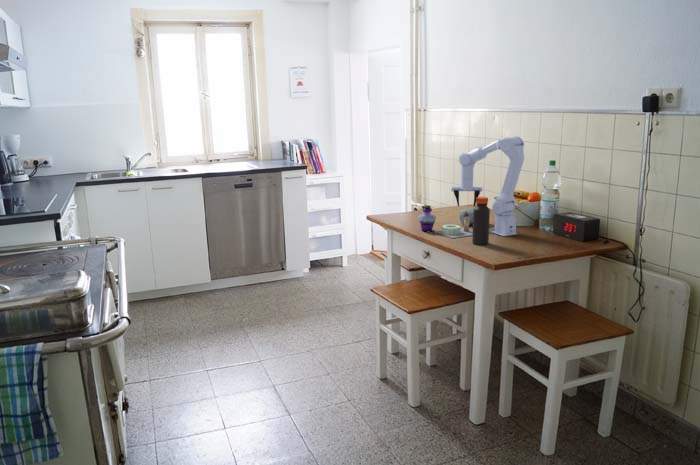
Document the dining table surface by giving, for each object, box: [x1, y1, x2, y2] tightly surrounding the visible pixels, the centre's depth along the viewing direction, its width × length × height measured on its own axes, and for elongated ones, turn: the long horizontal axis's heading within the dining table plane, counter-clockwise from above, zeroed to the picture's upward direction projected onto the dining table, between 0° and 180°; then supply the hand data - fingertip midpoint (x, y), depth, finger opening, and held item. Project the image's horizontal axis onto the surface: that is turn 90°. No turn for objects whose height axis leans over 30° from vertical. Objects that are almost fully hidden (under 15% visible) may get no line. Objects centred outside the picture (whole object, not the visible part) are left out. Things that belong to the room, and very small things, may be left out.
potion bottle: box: [418, 204, 437, 233], centre depth 271 cm, size 9×9×12 cm
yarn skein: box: [459, 207, 475, 226], centre depth 283 cm, size 14×10×10 cm
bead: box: [441, 224, 461, 235], centre depth 265 cm, size 8×8×3 cm
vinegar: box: [471, 196, 491, 246], centre depth 245 cm, size 7×7×20 cm
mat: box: [434, 227, 473, 239], centre depth 266 cm, size 14×16×1 cm
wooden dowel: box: [463, 217, 470, 232], centre depth 267 cm, size 2×2×7 cm
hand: (466, 206), depth 279 cm, fingers open, 7 cm apart
